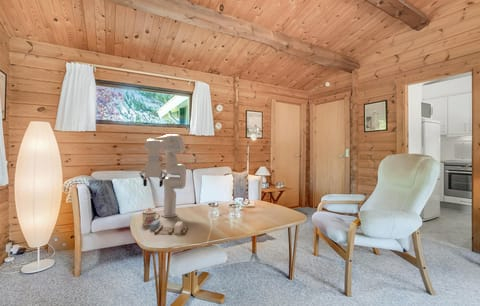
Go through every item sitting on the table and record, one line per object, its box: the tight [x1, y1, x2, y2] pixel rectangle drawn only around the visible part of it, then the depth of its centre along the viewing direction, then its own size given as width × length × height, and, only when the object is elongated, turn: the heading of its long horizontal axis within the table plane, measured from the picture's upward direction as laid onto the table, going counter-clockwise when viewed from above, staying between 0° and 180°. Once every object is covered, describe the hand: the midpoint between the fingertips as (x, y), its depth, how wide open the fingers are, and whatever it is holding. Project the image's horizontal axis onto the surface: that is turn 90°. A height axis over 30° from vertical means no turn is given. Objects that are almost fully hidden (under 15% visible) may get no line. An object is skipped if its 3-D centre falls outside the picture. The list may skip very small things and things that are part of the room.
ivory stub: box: [173, 220, 184, 234], centre depth 155 cm, size 9×4×5 cm, turn 2°
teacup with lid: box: [142, 207, 161, 227], centre depth 171 cm, size 12×9×12 cm
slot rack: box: [153, 224, 189, 236], centre depth 155 cm, size 14×19×2 cm
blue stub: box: [149, 220, 161, 231], centre depth 159 cm, size 9×4×5 cm, turn 2°
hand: (152, 186), depth 151 cm, fingers open, 9 cm apart
